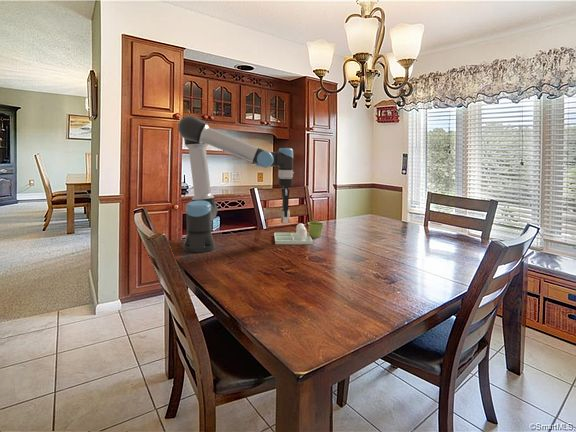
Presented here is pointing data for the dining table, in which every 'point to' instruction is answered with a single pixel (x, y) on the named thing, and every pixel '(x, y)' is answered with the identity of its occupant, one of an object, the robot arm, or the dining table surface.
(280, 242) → the caddy
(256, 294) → the dining table surface
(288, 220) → the wooden egg
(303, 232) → the white egg far right
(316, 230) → the plant pot
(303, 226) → the white egg far left
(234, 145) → the robot arm
